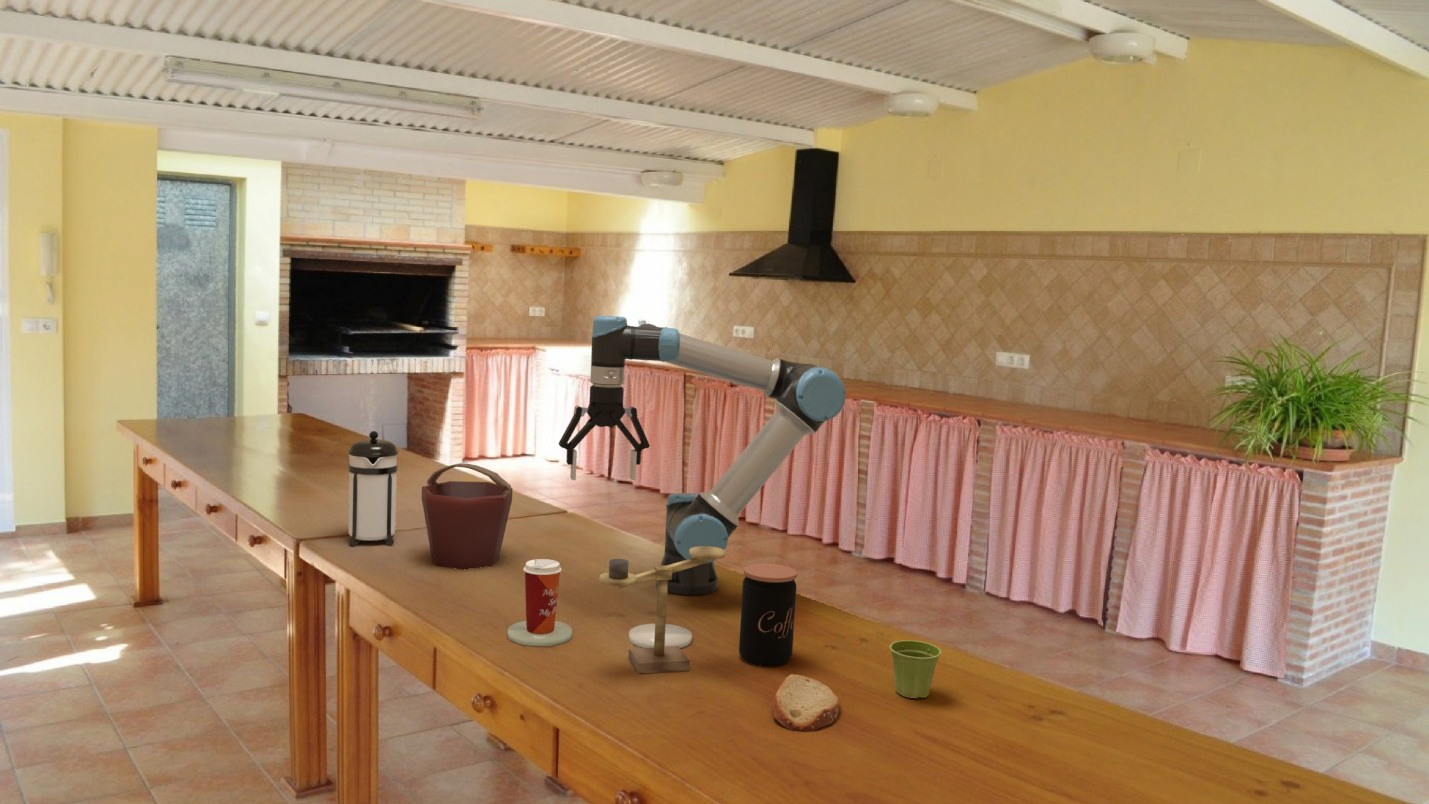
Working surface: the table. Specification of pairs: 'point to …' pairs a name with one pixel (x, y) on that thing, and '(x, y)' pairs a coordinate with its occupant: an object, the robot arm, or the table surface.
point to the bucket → (466, 519)
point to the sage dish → (539, 635)
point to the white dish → (673, 636)
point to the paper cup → (541, 594)
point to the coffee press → (372, 490)
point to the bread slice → (804, 704)
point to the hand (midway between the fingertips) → (603, 479)
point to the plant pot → (914, 666)
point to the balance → (658, 608)
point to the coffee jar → (767, 614)
